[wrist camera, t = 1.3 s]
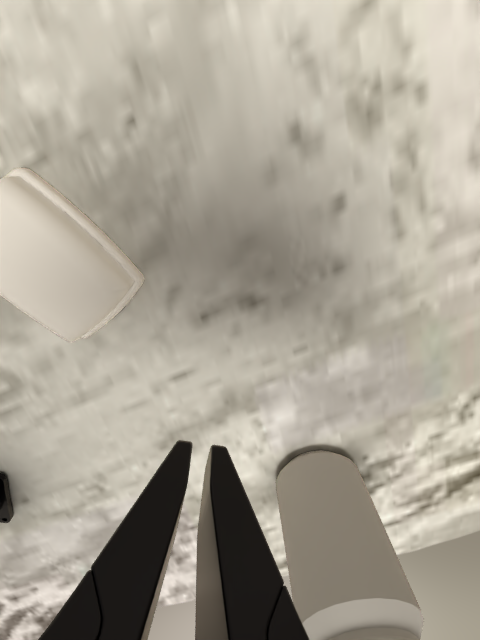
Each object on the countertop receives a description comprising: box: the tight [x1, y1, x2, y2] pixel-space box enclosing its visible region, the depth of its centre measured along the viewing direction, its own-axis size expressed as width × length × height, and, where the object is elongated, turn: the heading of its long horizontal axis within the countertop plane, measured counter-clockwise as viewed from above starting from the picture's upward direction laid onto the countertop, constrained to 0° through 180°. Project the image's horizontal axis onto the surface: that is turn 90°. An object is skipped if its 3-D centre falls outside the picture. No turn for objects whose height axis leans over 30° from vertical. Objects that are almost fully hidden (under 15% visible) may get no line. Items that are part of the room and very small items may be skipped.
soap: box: [0, 168, 144, 342], centre depth 17 cm, size 9×7×3 cm
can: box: [276, 450, 424, 640], centre depth 21 cm, size 8×8×12 cm
